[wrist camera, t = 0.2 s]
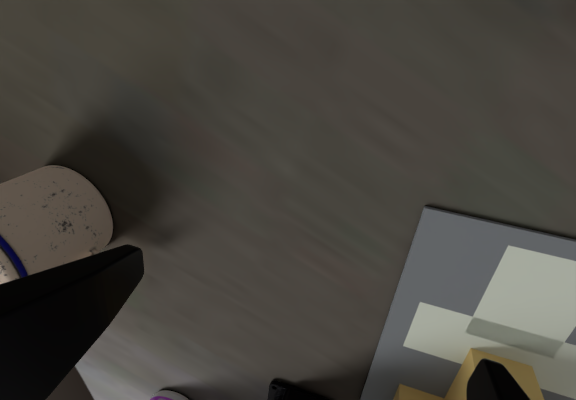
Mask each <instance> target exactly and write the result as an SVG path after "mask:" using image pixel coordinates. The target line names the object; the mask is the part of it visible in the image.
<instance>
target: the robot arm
mask: <svg viewBox="0 0 576 400" xmlns="http://www.w3.org/2000/svg"><path fill="white" fill-rule="evenodd" d="M143 274H144V264H143V253H142V250H141V249H140V248H138V247H135V246H132V245H123V246H120V247H117V248H114V249H110V250H107V251H104V252H101V253H98V254H95V255H91V256H88V257H85V258H82V259H79V260H76V261H72V262H69V263H66V264H63V265H60V266H57V267H53V268H50V269H47V270H44V271H41V272H38V273H34V274H31V275H28V276H25V277H22V278H19V279H15V280H12V281H9V282H6V283H3V284H0V400H46V399H47V398H48V396H49V395H50V394H51V393H52V392H53V390H54V389H55V388H56V387H57V386H58V385H59V383H60V382H61V381H62V380H63V379H64V377H65V376H66V375H67V374H68V373H69V372H70V371H71V369H72V368H73V367H74V366H75V365H76V363H77V362H78V361H79V360H80V359H81V358H82V356H83V355H84V354H85V353H86V352H87V351H88V349H89V348H90V347H91V346H92V345H93V344H94V342H95V341H96V340H97V339H98V338H99V337H100V335H101V334H102V333H103V332H104V331H105V329H106V328H107V327H108V326H109V324H110V323H111V322H112V320H113V319H114V318H115V316H116V315H117V313H118V312H119V311H120V309H121V308H122V306H123V305H124V303H125V302H126V301H127V299H128V298H129V296H130V295H131V293H132V292H133V291H134V289H135V288H136V286H137V285H138V283H139V282H140V281H141V279H142V277H143ZM466 396H467V400H531V399H530V398H529V397H528V396H527V394H526V393H525V392H524V390H523V389H522V388H521V387H520V385H519V384H518V383H517V381H516V380H515V379H514V378H513V376H512V375H511V374H510V372H509V371H508V370H507V369H506V367H505V366H504V365H503V364H501V363H499V362H496V361H492V360H489V359H486V358H483V359H481V360H480V361H479V363H478V364H477V366H476V368H475V370H474V371H473V373H472V375H471V376H470V378H469V380H468V383H467V389H466ZM268 400H329V399H326V398H323V397H320V396H318V395H315V394H312V393H309V392H306V391H303V390H301V389H298V388H295V387H292V386H289V385H287V384H284V383H281V382H278V381H275V380H273V381H271V383H270V386H269V393H268Z"/></svg>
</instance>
